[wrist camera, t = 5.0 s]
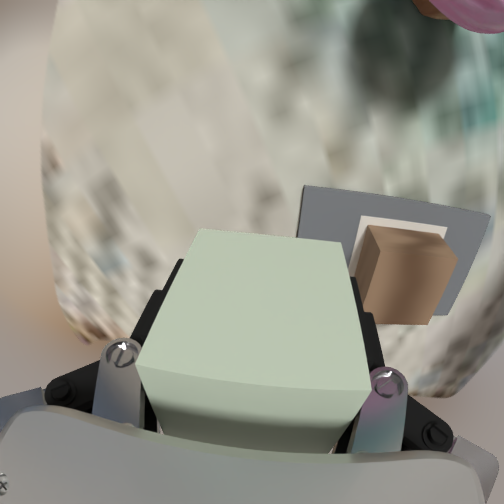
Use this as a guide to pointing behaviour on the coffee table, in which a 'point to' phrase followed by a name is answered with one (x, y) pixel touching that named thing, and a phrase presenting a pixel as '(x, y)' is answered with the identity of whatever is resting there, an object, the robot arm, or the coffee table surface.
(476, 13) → the cupcake
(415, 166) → the coffee table surface
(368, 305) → the walnut base block
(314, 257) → the sage cube
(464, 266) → the mat
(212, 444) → the robot arm
